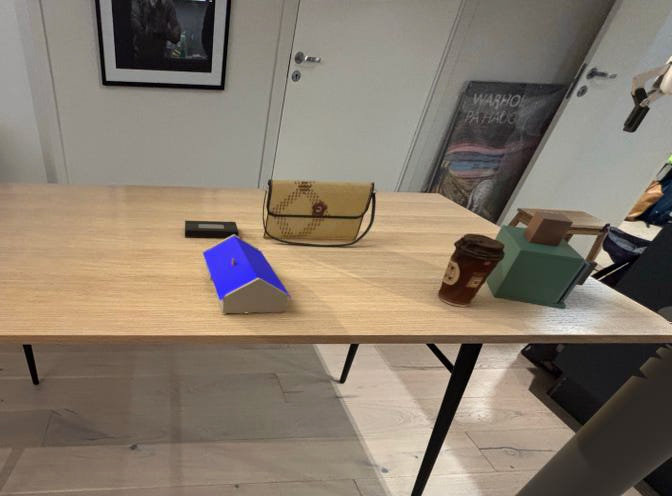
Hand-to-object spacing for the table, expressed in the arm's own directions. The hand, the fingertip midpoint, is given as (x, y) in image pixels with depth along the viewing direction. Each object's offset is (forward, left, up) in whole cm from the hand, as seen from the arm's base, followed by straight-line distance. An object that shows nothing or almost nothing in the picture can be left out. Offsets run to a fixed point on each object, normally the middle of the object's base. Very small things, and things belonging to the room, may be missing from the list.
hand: (660, 134), depth 72 cm
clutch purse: (+57, 0, -31) cm, 65 cm away
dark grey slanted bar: (+2, +10, -29) cm, 31 cm away
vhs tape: (+84, +6, -31) cm, 90 cm away
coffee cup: (+25, +20, -31) cm, 44 cm away
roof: (+68, +33, -31) cm, 81 cm away
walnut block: (+11, +7, -20) cm, 24 cm away
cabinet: (+10, +7, -30) cm, 33 cm away
